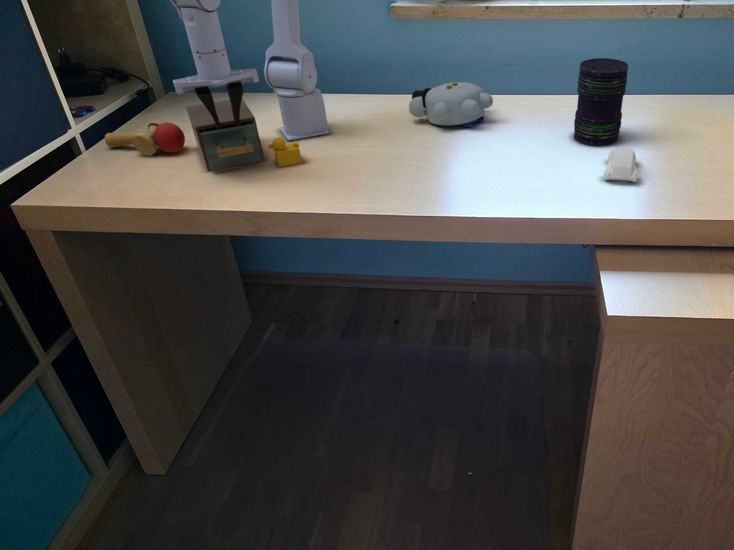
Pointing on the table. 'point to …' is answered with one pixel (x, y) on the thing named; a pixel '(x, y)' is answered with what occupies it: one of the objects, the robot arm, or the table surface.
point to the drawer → (231, 145)
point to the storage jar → (600, 101)
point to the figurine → (451, 104)
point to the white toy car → (621, 165)
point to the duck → (286, 152)
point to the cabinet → (204, 120)
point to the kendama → (150, 138)
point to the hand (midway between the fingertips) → (228, 126)
